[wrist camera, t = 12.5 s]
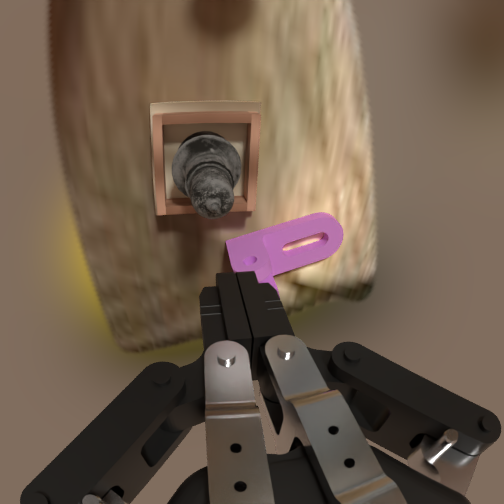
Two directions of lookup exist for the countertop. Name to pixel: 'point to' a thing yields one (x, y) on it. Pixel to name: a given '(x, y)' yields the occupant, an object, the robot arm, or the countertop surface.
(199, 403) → the robot arm
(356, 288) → the countertop surface
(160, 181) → the shaker holder
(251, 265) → the bracket
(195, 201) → the salt shaker
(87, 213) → the countertop surface
